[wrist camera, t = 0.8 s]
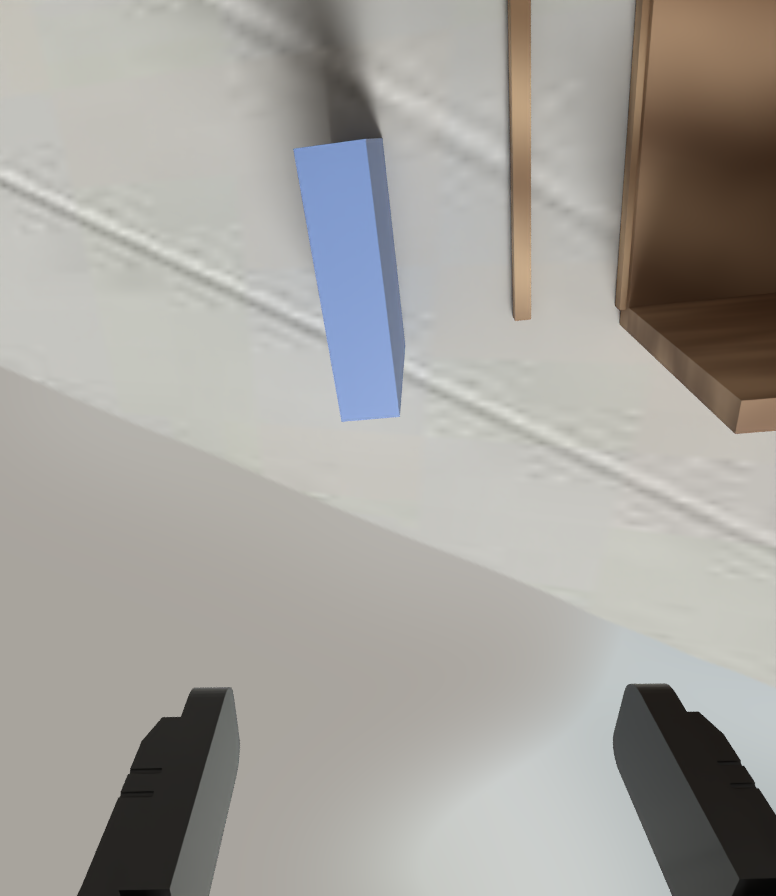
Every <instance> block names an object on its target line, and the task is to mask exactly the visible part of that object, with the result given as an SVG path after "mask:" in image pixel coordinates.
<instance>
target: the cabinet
mask: <svg viewBox="0 0 776 896" xmlns="http://www.w3.org/2000/svg"><path fill="white" fill-rule="evenodd" d="M508 46H509V107H510V168H511V229H512V290H513V318H514V320H515V321H519V320H529V319H531V0H508ZM615 306H616V307H617V308H618V309H619V310H621V313H620V325H621V326H622V327H623V328H624V329H625V330H626V331H627V332H628V333H629V334H630V335H631V336H632V337H634V338H635V339H636V340H637V341H638V342H639V343H640V344H641V345H642V346H643V347H644V348H645V349H646V350H647V351H648V352H649V353H650V354H651V355H653V356H654V357H655V358H656V359H657V360H658V361H659V362H660V363H661V364H662V365H663V366H664V367H665V368H666V369H667V370H668V371H669V372H670V373H672V374H673V375H674V376H675V377H676V378H677V379H678V380H679V381H680V382H681V383H682V384H683V385H684V386H685V387H686V388H687V389H688V390H689V391H690V392H692V393H693V394H694V395H695V396H696V397H697V398H698V399H699V400H700V401H701V402H702V403H703V404H704V405H705V406H706V407H707V408H708V409H709V410H711V411H712V412H713V413H714V414H715V415H716V416H717V417H718V418H719V419H720V420H721V421H722V422H723V423H724V424H725V425H726V426H727V427H728V428H730V429H731V430H732V431H733V432H734V433H735V434H740V433H753V432H765V431H776V0H636V13H635V27H634V41H633V56H632V70H631V84H630V99H629V113H628V128H627V142H626V156H625V171H624V185H623V199H622V214H621V228H620V243H619V257H618V271H617V286H616V300H615Z"/></svg>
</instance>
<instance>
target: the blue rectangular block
mask: <svg viewBox="0 0 776 896" xmlns="http://www.w3.org/2000/svg"><path fill="white" fill-rule="evenodd" d="M293 150H294V156H295V161H296V167H297V173H298V178H299V184H300V189H301V195H302V201H303V206H304V212H305V218H306V223H307V229H308V235H309V240H310V246H311V251H312V257H313V263H314V268H315V274H316V280H317V285H318V291H319V297H320V302H321V308H322V313H323V319H324V325H325V330H326V336H327V342H328V347H329V353H330V359H331V364H332V370H333V375H334V381H335V387H336V392H337V398H338V404H339V409H340V415H341V421H342V422H344V421H355V420H367V419H378V418H390V417H400V406H401V393H402V381H403V368H404V355H405V339H404V330H403V321H402V312H401V303H400V294H399V284H398V275H397V266H396V257H395V248H394V239H393V230H392V221H391V212H390V203H389V194H388V185H387V176H386V167H385V158H384V149H383V140H382V138H372V139H361V140H353V141H346V142H339V143H332V144H325V145H317V146H310V147H303V148H296V149H293Z"/></svg>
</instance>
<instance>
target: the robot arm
mask: <svg viewBox="0 0 776 896" xmlns="http://www.w3.org/2000/svg"><path fill="white" fill-rule="evenodd" d="M239 749H240V740H239V732H238V724H237V718H236V710H235V702H234V696H233V690H232V688H230V687H224V688H223V687H219V688H193V689H192V690H191V692H190V694H189V696H188V699H187V702H186V704H185V707H184V710H183V713H182V716H181V717H163V718H161V720H160V721H159V722H158V723H157V724H156V726H154V728H153V729H152V730H151V731H150V732H149V733H148V735H147V736H146V737H145V738H144V739H143V740H142V742H141V744H140V747H139V749H138V752H137V754H136V756H135V759H134V761H133V764H132V766H131V768H130V774H128V776H127V778H126V780H125V783H124V785H123V788H122V790H121V796H120V798H118V800H117V802H116V805H115V807H114V809H113V812H112V814H111V817H110V819H109V821H108V824H107V826H106V829H105V831H104V833H103V836H102V838H101V841H100V843H99V846H98V848H97V851H96V853H95V855H94V858H93V860H92V862H91V865H90V867H89V870H88V872H87V875H86V877H85V879H84V882H83V884H82V886H81V889H80V891H79V893H78V895H77V896H209V893H210V888H211V884H212V879H213V875H214V871H215V866H216V862H217V858H218V854H219V849H220V845H221V840H222V836H223V831H224V827H225V823H226V818H227V814H228V810H229V805H230V801H231V797H232V792H233V788H234V784H235V779H236V775H237V770H238V763H239V752H240V750H239ZM613 749H614V756H615V760H616V764H617V767H618V770H619V772H620V774H621V777H622V779H623V781H624V783H625V786H626V788H627V791H628V793H629V795H630V798H631V800H632V803H633V805H634V807H635V809H636V812H637V814H638V816H639V819H640V821H641V823H642V826H643V828H644V830H645V833H646V835H647V837H648V840H649V842H650V844H651V847H652V849H653V851H654V854H655V856H656V859H657V861H658V863H659V866H660V868H661V870H662V873H663V875H664V877H665V880H666V882H667V884H668V887H669V889H670V892H671V894H672V896H776V815H775V813H774V812H773V810H772V808H771V807H770V805H769V804H768V802H767V801H766V799H765V797H764V796H763V794H762V793H761V791H760V790H759V789H758V788H756V787H755V782H754V780H753V779H752V777H751V776H750V774H749V773H748V771H747V770H746V768H745V767H744V766H742V765H741V760H740V759H739V757H738V756H737V754H736V753H735V751H734V750H733V748H732V747H731V745H730V743H729V742H728V740H727V739H726V737H725V736H724V734H723V733H722V732H721V731H719V730H718V729H717V728H716V727H715V726H714V725H713V724H712V723H711V722H710V721H708V720H707V719H706V718H705V717H704V716H703V715H702V714H701V713H700V712H687V711H686V710H685V708H684V706H683V705H682V703H681V701H680V700H679V698H678V696H677V695H676V693H675V692H674V690H673V689H672V688H671V687H670V686H669V685H667V684H629V685H627V686H626V688H625V691H624V695H623V699H622V703H621V707H620V711H619V715H618V719H617V723H616V726H615V730H614V735H613Z"/></svg>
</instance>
